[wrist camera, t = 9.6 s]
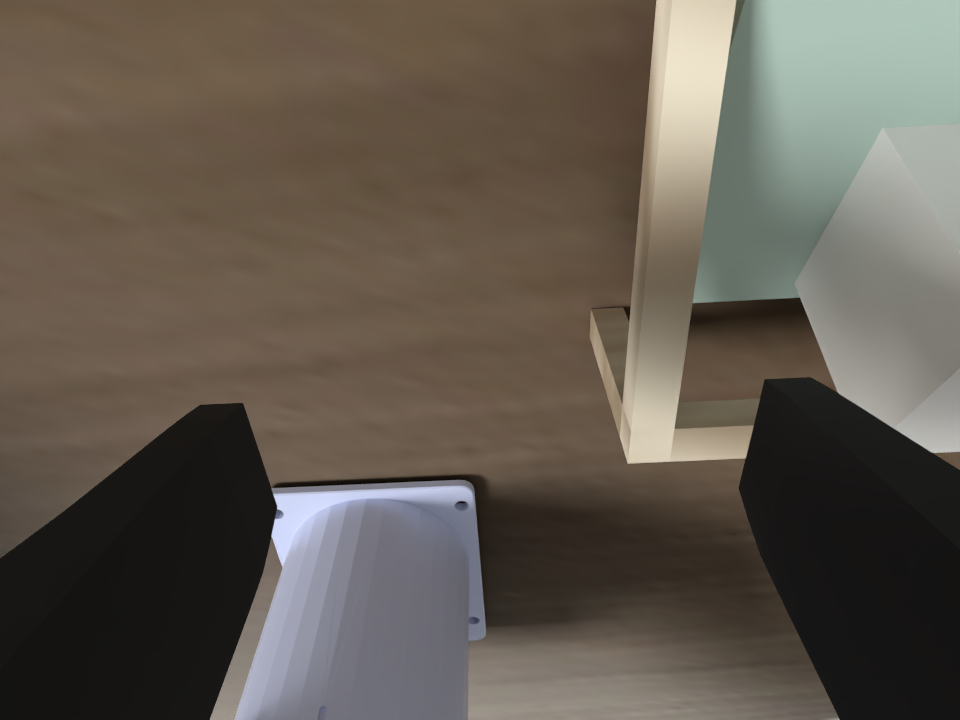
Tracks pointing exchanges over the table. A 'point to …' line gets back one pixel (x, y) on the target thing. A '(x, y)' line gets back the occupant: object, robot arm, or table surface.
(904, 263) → the white cube
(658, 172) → the trapdoor frame
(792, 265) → the trapdoor
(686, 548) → the table surface
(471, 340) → the table surface
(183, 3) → the table surface
